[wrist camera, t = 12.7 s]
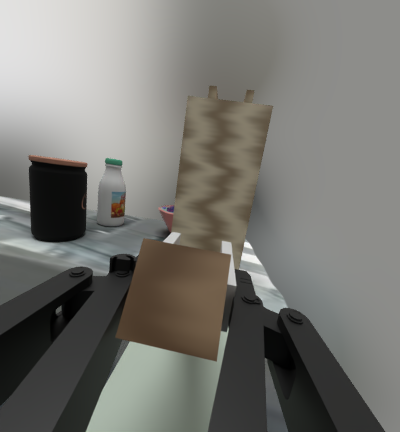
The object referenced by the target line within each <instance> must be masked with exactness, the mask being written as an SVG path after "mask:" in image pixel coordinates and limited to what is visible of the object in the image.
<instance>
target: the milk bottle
mask: <svg viewBox="0 0 400 432" xmlns="http://www.w3.org/2000/svg"><path fill="white" fill-rule="evenodd" d="M105 163H106V170H105V173H104V175H103V177H102V179H101V181H100V184H99V191H98V213H97V222H98V224H100V225H103V226H120V225H122V224H123V223H124V212H125V195H126V187H125V182H124V180H123V177H122V174H121V168H122V161H121V160H116V159H109V158H106V160H105ZM119 165H120V166H119Z"/></svg>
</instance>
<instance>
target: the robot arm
mask: <svg viewBox="0 0 400 432" xmlns="http://www.w3.org/2000/svg"><path fill="white" fill-rule="evenodd" d="M180 238H181V233H176V232H172V233H171V234H170V235H169V236H168V237H167V238H166V239H165V240H164V241H163V242H166V243H171V244H177V245H180ZM220 253H225V254H230V255H231V261H230V268H229V275H228V283H227V290H226V297H225V305H224V312H223V319H222V326H221V331H223V332H227V329H228V328H229V331H228V335H227V340H226V345H225V350H224V355H223V360H222V364H221V369H220V374H219V379H218V384H217V389H216V393H215V398H214V403H213V408H212V413H211V418H210V422H209V427H208V432H267V419H266V388H265V358H267V362H268V366H269V369H270V372H271V376H272V379H273V382H274V385H275V389H276V392H277V395H278V399H279V402H280V405H281V409H282V412H283V415H284V419H285V422H286V425H287V429H288V432H385V431H384V429H383V428H382V426H381V425H380V423H379V422H378V420H377V419H376V418H375V416H374V415H373V413H372V412H371V411H370V409H369V407H368V406H367V404H366V403H365V401H364V400H363V398H362V397H361V395H360V394H359V393H358V391H357V390H356V388H355V387H354V385H353V384H352V382H351V381H350V379H349V378H348V376H347V375H346V374H345V372H344V371H343V369H342V368H341V366H340V365H339V363H338V362H337V360H336V359H335V357H334V356H333V354H332V353H331V351H330V350H329V348H328V347H327V346H326V344H325V343H324V341H323V340H322V338H321V337H320V335H319V334H318V332H317V331H316V329H315V328H314V326H313V325H312V324H311V322H310V321H309V319H308V318H307V317H306V316H304V315H303V314H301V313H300V312H298V311H296V310H294V309H290V308H283V309H281V310H280V312H279V314H277V313H275V312H273V311H270V310H268V309H266V308H265V307H263V303H262V300H261V299H260V298H259V297H258V296H256V294H255V291H254V287H253V285H252V281H251V276H250V275H249V274H248V273H247V272H246V271H242V270H237V269H234V261H233V253H232V245H231V242H226V241H222V244H221V250H220ZM138 256H139V255H138ZM138 256H137V257H135V256H133V255H129V254H118V255H115V256H112V257H111V258H110V270H109V273H108V275H107V276H93V271H92V270H91V269H90V268H88V267H75V268H71V269H68V270H66V271H64V272H62V273H60V274H59V275H57V276H55V277H53V278H51V279H49V280H47V281H45V282H44V283H42V284H40V285H38V286H36V287H34V288H32V289H31V290H29V291H27V292H25V293H23V294H21V295H19V296H17V297H16V298H14V299H12V300H10V301H8V302H6V303H4V304H2V305H1V306H0V406H1V405H2V404H3V403H4V402H5V401H6V400H7V399H8V398H9V399H8V400H7V401H6V402H5V404H4V405H3V406H2V407H1V409H0V432H86V430H87V427H88V425H89V422H90V420H91V417H92V415H93V412H94V410H95V407H96V405H97V402H98V400H99V397H100V395H101V392H102V390H103V387H104V385H105V382H106V380H107V377H108V375H109V372H110V370H111V367H112V365H113V362H114V360H115V357H116V354H117V352H118V349H119V347H120V344H121V342H122V339H119V338H115V337H116V333H117V330H118V326H119V323H120V319H121V316H122V312H123V309H124V305H125V302H126V298H127V295H128V291H129V288H130V284H131V281H132V277H133V274H134V270H135V267H136V263H137V260H138ZM61 305H62V311H60V312H59V313H57V314H56V309H57V308H58V307H59V306H61ZM264 357H265V358H264Z"/></svg>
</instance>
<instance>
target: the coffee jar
mask: <svg viewBox="0 0 400 432" xmlns="http://www.w3.org/2000/svg"><path fill="white" fill-rule="evenodd" d="M29 160H30V161H31V162H32V165H31V166H30V167H29V182H30V208H31V232H32V234H33V235H34V236H35V237H36V238H37V239H39V240H42V241H50V242H59V241H68V240H73V239H76V238H79V237H81V236H82V235H83V233H84V232H85V230H86V199H87V173H86V172H85V168H86V167H87V163H84V162H78V161H71V160H64V159H57V158H50V157H42V156H34V155H29Z"/></svg>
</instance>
